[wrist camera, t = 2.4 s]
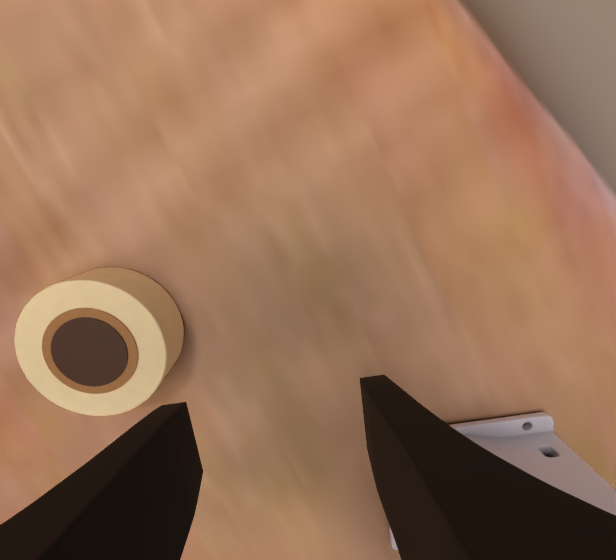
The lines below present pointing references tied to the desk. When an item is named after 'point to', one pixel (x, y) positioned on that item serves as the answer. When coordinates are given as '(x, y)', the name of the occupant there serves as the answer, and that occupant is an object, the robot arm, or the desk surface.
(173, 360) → the tape roll
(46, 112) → the desk surface
